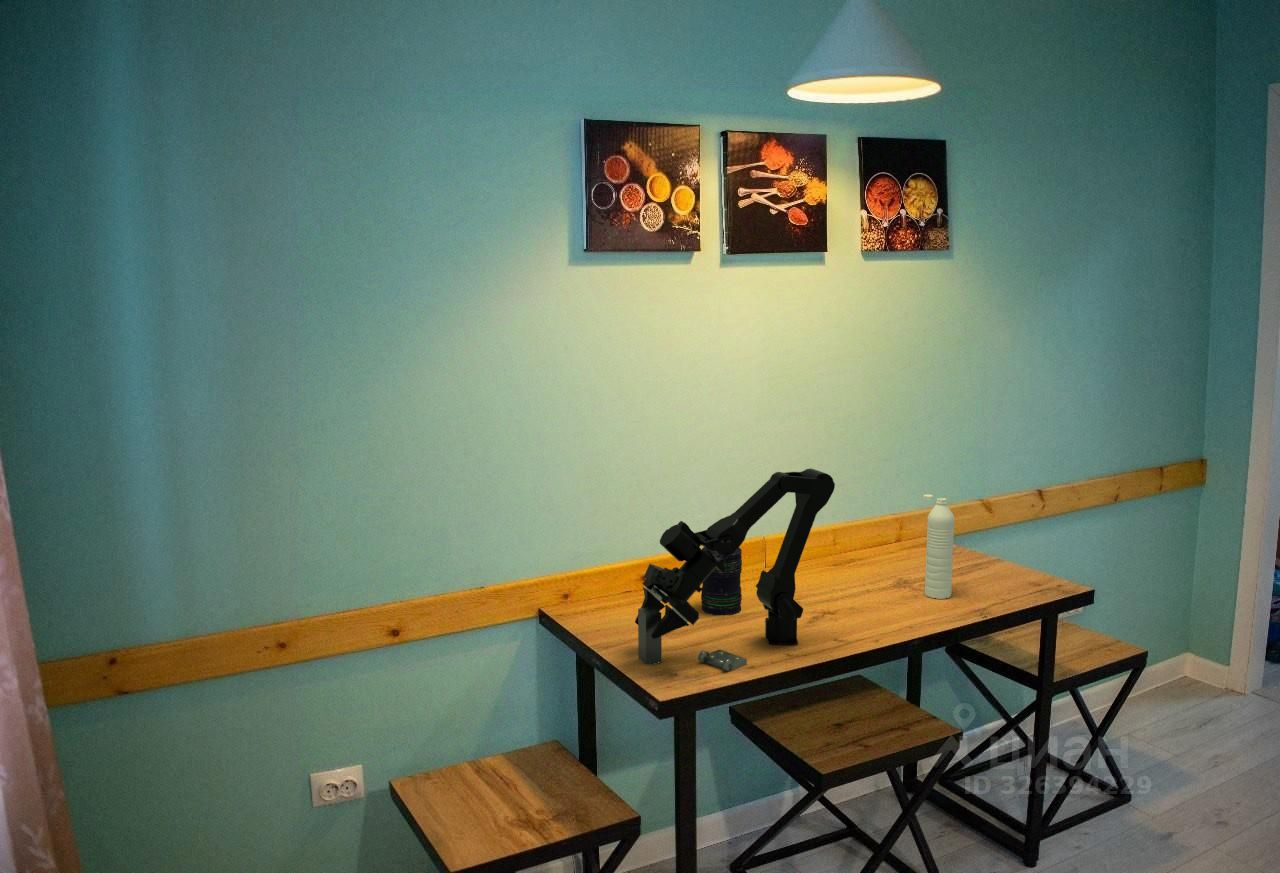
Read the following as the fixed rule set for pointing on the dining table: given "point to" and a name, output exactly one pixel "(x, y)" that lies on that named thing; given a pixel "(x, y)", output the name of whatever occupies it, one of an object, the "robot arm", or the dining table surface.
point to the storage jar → (723, 587)
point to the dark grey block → (649, 635)
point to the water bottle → (939, 550)
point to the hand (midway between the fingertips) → (644, 630)
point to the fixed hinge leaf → (722, 659)
